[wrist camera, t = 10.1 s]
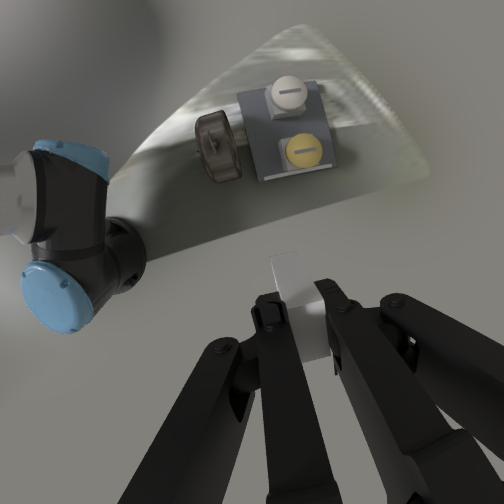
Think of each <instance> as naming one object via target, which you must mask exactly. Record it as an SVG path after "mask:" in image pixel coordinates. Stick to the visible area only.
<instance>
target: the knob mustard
mask: <svg viewBox="0 0 504 504" xmlns="http://www.w3.org/2000/svg"><path fill="white" fill-rule="evenodd" d="M285 156H286V159H287V161H288V162H289V163H290V164H291V165H293V166H294V167H297V168H310V167H313V166H315V165H316V164H317V163H318V162H319V161H320V159H321V157H322V146H321V143H320V142H319V140H318V139H317V138H316V137H314V136H313V135H311V134H307V133H302V134H298V135H296V136H294V137H293V138H291V139H290V140H289V141H288V142H287V144H286V146H285Z"/></svg>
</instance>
